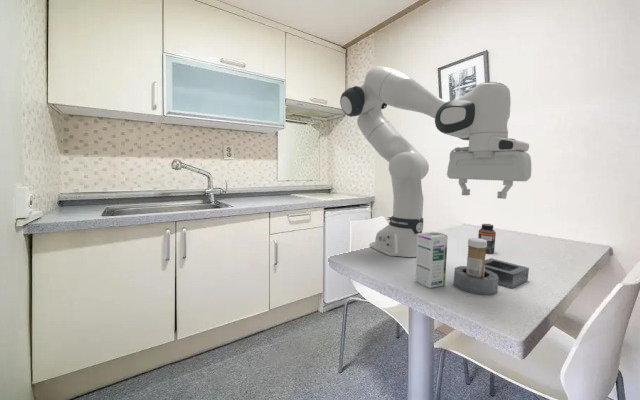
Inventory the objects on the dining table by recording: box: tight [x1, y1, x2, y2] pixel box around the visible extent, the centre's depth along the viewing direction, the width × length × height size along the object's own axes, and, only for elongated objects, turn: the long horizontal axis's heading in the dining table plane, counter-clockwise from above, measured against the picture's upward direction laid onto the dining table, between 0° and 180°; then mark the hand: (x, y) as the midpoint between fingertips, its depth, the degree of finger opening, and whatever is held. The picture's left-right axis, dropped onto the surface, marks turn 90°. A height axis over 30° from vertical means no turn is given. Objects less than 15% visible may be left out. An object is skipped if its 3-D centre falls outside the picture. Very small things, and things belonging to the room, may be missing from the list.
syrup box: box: [415, 231, 449, 289], centre depth 78 cm, size 6×6×14 cm
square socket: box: [485, 258, 530, 289], centre depth 83 cm, size 10×10×4 cm
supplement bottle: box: [477, 223, 497, 254], centre depth 111 cm, size 6×6×11 cm
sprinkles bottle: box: [466, 237, 487, 277], centre depth 76 cm, size 5×5×13 cm
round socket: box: [453, 265, 499, 296], centre depth 76 cm, size 10×10×4 cm
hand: (482, 196), depth 75 cm, fingers open, 8 cm apart
